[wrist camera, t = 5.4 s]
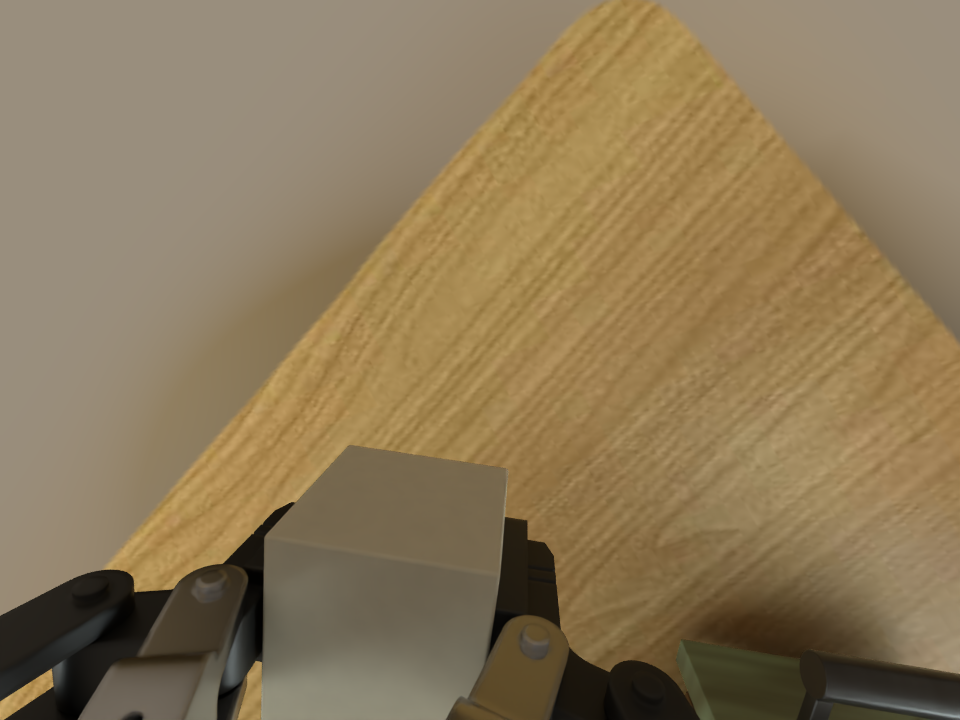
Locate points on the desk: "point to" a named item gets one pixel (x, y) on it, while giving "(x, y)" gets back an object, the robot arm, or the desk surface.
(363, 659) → the block
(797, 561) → the desk surface
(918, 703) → the drawer
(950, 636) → the desk surface
